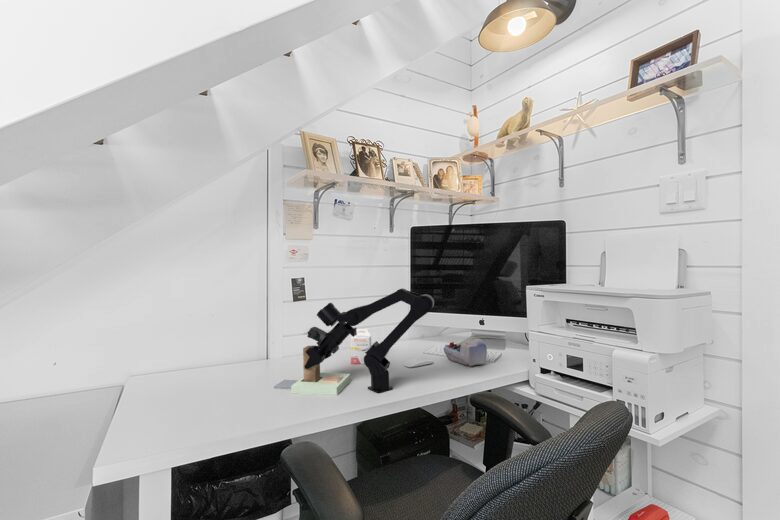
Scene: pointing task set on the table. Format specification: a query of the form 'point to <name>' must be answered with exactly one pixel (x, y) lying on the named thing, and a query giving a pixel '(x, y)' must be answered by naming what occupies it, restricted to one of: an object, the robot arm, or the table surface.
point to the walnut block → (310, 369)
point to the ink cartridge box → (360, 346)
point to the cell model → (467, 352)
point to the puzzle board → (322, 384)
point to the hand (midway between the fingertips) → (308, 366)
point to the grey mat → (285, 384)
